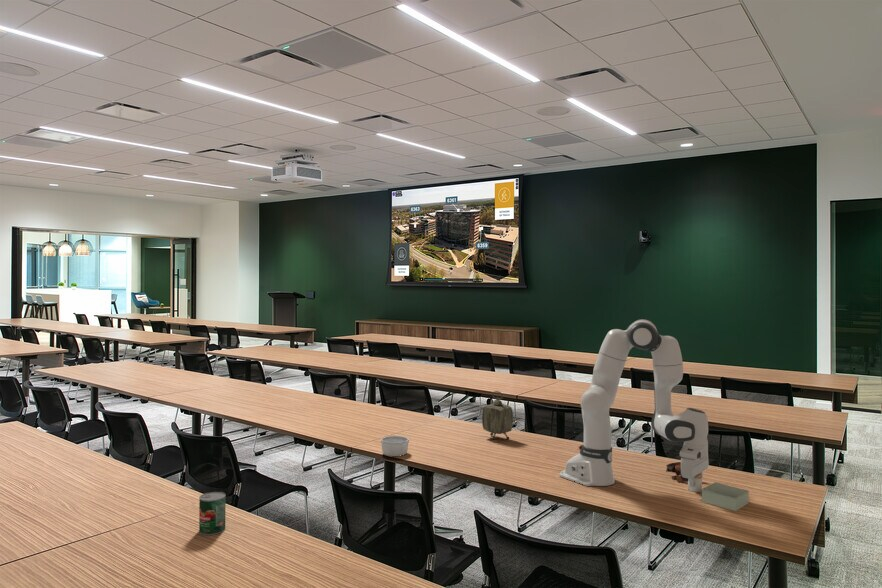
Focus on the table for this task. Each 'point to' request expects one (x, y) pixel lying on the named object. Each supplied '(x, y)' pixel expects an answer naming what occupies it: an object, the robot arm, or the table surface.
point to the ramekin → (394, 445)
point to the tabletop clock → (497, 417)
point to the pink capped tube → (696, 484)
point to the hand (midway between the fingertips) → (695, 484)
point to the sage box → (725, 496)
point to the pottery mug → (676, 471)
